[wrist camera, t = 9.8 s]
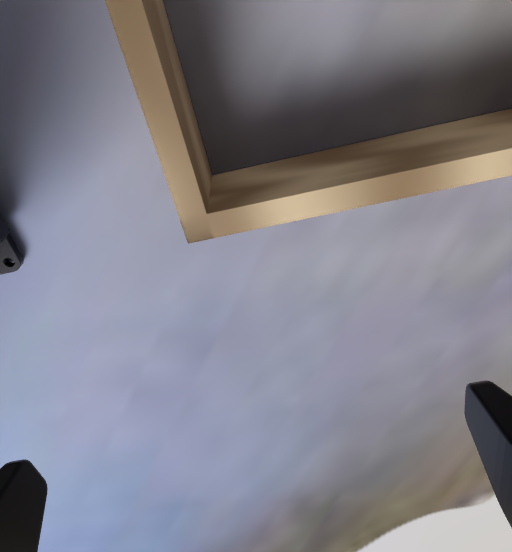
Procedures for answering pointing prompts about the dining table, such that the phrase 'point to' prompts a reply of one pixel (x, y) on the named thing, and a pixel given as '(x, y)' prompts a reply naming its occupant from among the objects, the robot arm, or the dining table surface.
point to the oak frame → (297, 170)
